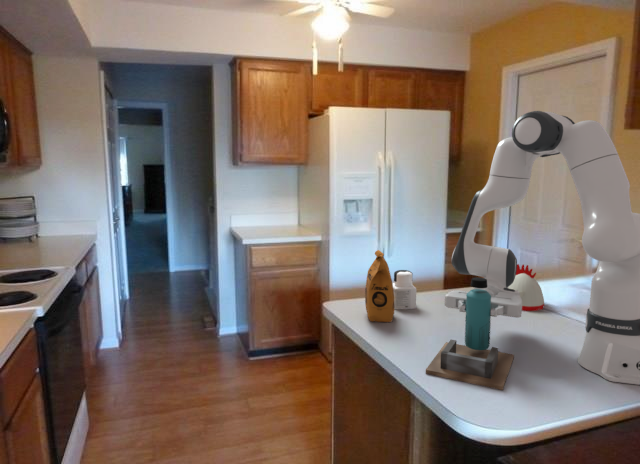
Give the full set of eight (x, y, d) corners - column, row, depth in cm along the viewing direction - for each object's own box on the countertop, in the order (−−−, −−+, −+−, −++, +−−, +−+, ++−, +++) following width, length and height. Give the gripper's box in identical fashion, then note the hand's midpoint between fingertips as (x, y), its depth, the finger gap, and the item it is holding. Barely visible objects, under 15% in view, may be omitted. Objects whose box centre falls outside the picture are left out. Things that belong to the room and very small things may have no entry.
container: (389, 303, 172) (390, 268, 170) (409, 302, 173) (410, 268, 171) (395, 309, 164) (395, 274, 162) (416, 308, 165) (417, 273, 163)
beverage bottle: (491, 356, 121) (495, 282, 118) (464, 354, 122) (467, 281, 119) (487, 347, 127) (491, 275, 124) (462, 345, 128) (465, 274, 125)
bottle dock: (513, 358, 124) (514, 340, 123) (502, 390, 106) (503, 369, 106) (445, 345, 132) (446, 328, 132) (425, 373, 115) (426, 354, 114)
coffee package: (363, 322, 152) (364, 256, 148) (365, 310, 164) (365, 249, 160) (394, 323, 150) (395, 257, 147) (393, 311, 162) (394, 249, 159)
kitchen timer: (512, 297, 179) (515, 259, 176) (549, 305, 169) (552, 264, 166) (495, 304, 169) (497, 264, 167) (533, 313, 159) (536, 271, 157)
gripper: (451, 282, 138) (438, 294, 126) (525, 291, 128) (519, 305, 117) (450, 303, 139) (437, 316, 127) (524, 313, 129) (518, 329, 118)
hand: (477, 311), depth 122 cm, fingers closed on beverage bottle, 6 cm apart
